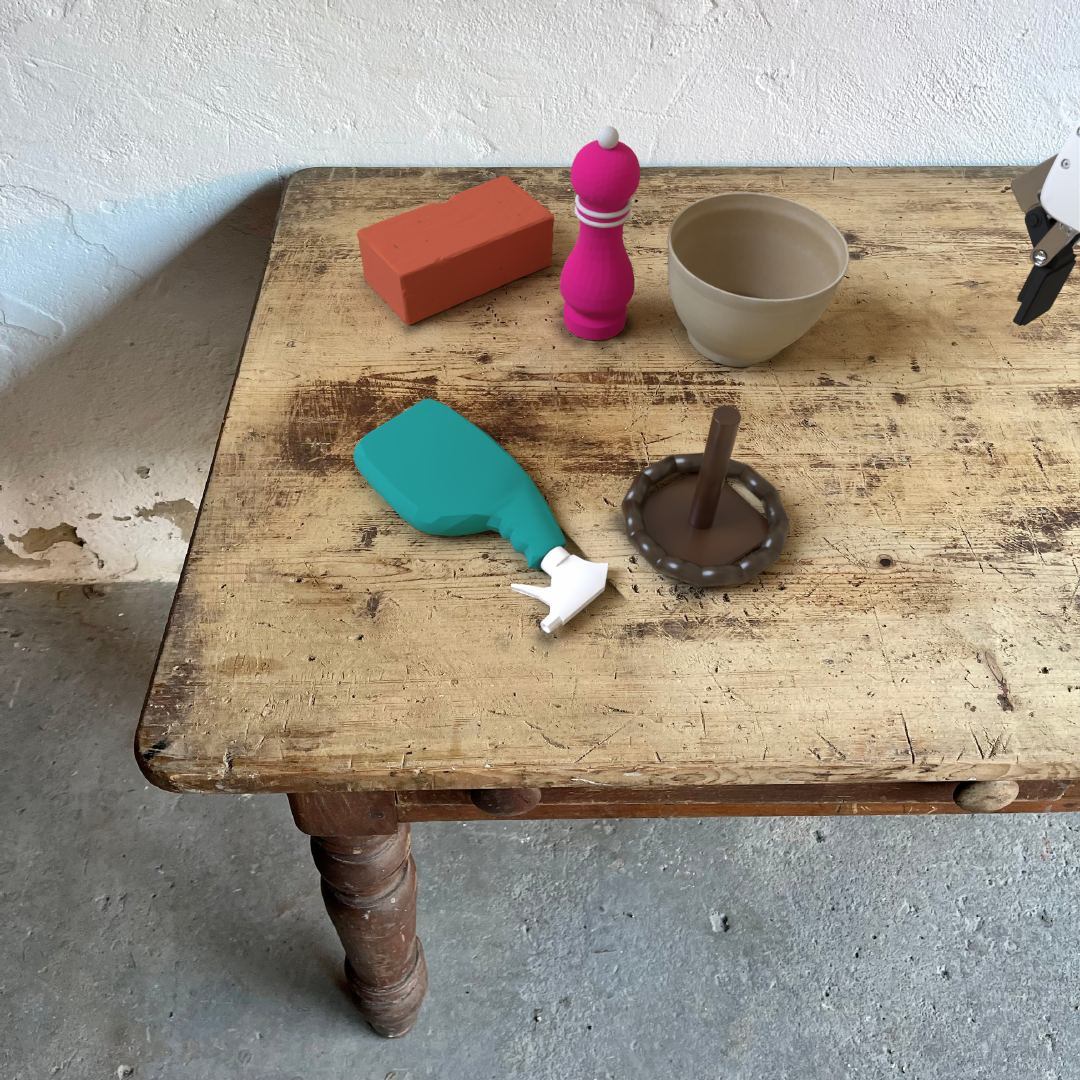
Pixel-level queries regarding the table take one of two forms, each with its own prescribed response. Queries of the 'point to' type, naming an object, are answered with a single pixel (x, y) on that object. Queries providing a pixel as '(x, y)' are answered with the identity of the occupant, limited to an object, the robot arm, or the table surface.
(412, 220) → the brick
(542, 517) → the spray bottle
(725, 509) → the stand
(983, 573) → the table surface
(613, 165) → the pepper mill
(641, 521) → the ring
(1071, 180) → the robot arm
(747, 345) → the planter bowl
